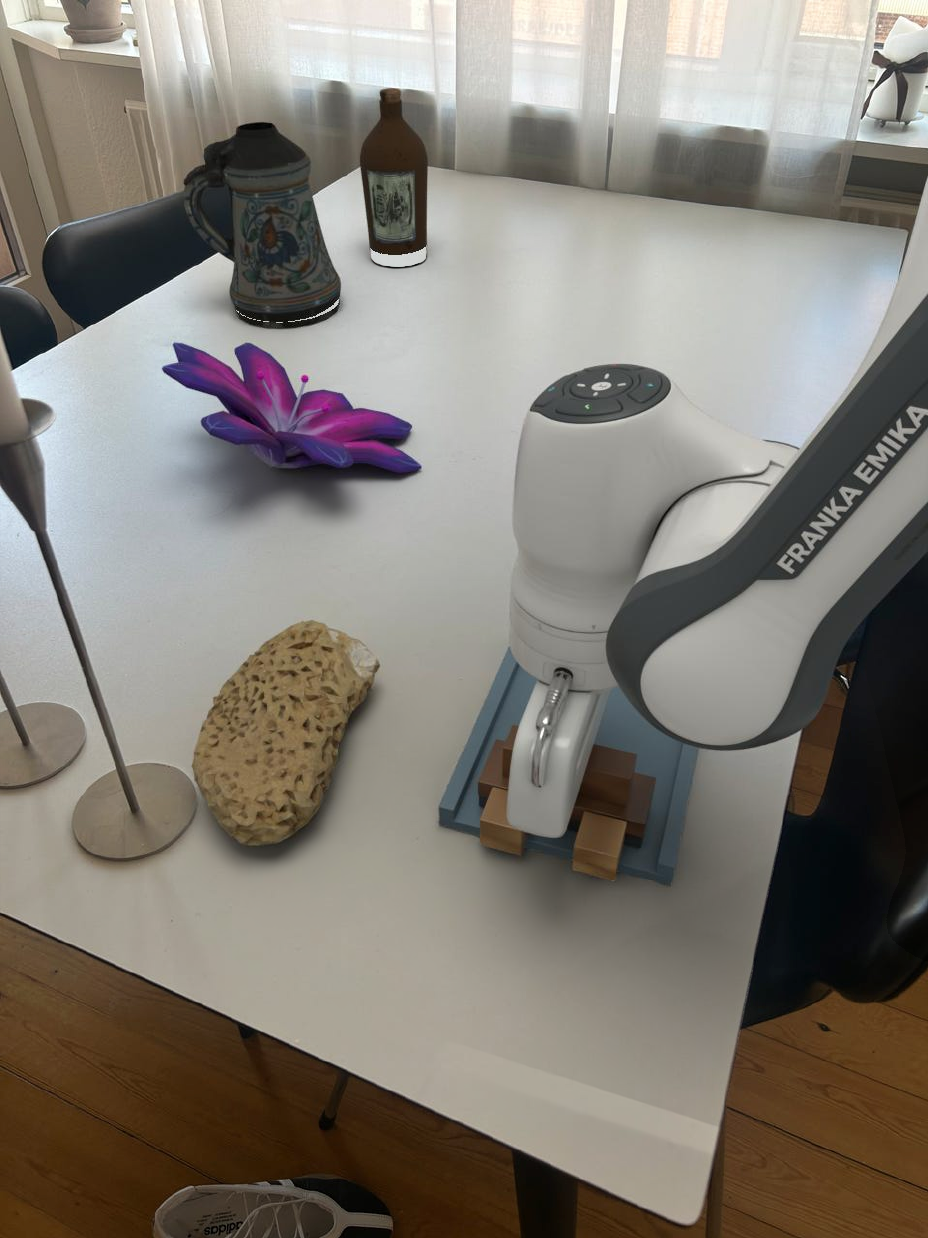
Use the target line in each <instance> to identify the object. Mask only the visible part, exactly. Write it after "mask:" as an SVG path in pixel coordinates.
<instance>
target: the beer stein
mask: <svg viewBox="0 0 928 1238" xmlns="http://www.w3.org/2000/svg"><path fill="white" fill-rule="evenodd" d="M202 156H203V161H204V164H201V165H198V166H196V167H194V168H193V169H192V170H190V171H189V172H188V173H187V174H186V176H185V178H184V179H183V185H184V188H183V195H182V196H183V197H182V199H183V204H184V205H183V206H184V209H185V212H186V215H187V218H188V220H189V221H190V224H191V225H192V227H193V229H194V230H195V231H196V233H197V234H198V235H199V236H200V237H201V239H202V240H203V241H204V242H205V243H207V244H208V245H209V246H210V247H211V248H212V249H213V250H215V251H216V252H217V253H218V254H220V255H222V256H223V257H224V258H226V259H228V260H229V261H231V262H232V263H233V270H232V275H231V280H230V281H231V282H230V285H229V290H228V291H229V298H230V301H231V303H232V305H233V307H234V310H235V313H236V315H237V317H238V318H239V320H241V321H243V322H244V323H246V324H248V325H250V326H255V327H259V328H264V329H279V330H283V329H295V328H296V329H297V328H301V327H306V326H311V325H312V326H313V325H315V324H318V323H320V322H324V321H326V320H328V319H329V318H331V317H332V316H334V315H335V314H336V313H337V312H338V310H339V307H340V303H341V299H340V300H339V303H338V305H337V306H336V307H335V308H334V309H332V310H331V311H329V312H327V313H325V314H323V315H320V316H318V317H315V318H312V319H307V320H301V321H295V320H300V319H306V318H309V317H313V316H316V315H317V314H319V313H321V312H323V311H325V310H326V309H328V308H329V307H331V306H332V305H334V303H335V302H336V301H337V300H338V299H339V297H340V298H341V292H342V291H341V290H342V281H341V276H340V275H339V274H338V271H336V268H335V266H334V264H333V262H332V261H333V260H332V259H331V257H330V253H329V250H328V248H327V245H326V242H325V238H324V235H323V232H322V228H321V223H320V220H319V217H318V216H319V215H318V212H317V208H316V204H315V200H314V197H313V192H312V189H311V185H310V181H309V180H310V175H311V170H312V169H311V168H312V161H311V158H310V157H309V155H308V154H307V153H306V151H305V150H304V149H302V147H300V146H299V145H298V144H296V143H295V142H293V141H291V140H290V139H289V138H288V137H286V136H284V135H283V134H282V133H280V131H279V130H278V128H277V127H276V125H275V124H274V123H272V122H266V121H259V122H258V121H257V122H249V123H244V124H241V125H238V126H236V128H235V134H234V135H232V136H231V137H229V138H227V139H223V140H221V141H215V142H213V143H210V144H208V145H207V146H206V147H205V148H204V149H203V154H202ZM225 185H226V186H228V190H229V191H228V192H229V197H230V213H231V214H230V215H231V232H232V237H231V238H230V237H227V236H225V234H224V233H223V232H221V231H220V230H219V229H218V228H217V227H216V226H215V225H214V224H213V223H212V222H211V220H210V218H209V217H208V216H207V214H206V213H205V211H204V209H203V206H202V203H201V202H202V200H201V198H202V195H203V193H204V191H205V189H208V188H211V189H217V188H224V187H225ZM236 310H237V311H239V313H238V312H237V311H236ZM240 313H241V314H242V315H245V316H246V317H245V316H242V315H241V314H240ZM247 317H249V318H252V319H249V318H247ZM253 319H256V320H253ZM257 320H261V321H257ZM263 321H269V322H263ZM288 321H295V322H288ZM276 322H283V323H276Z"/></svg>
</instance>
